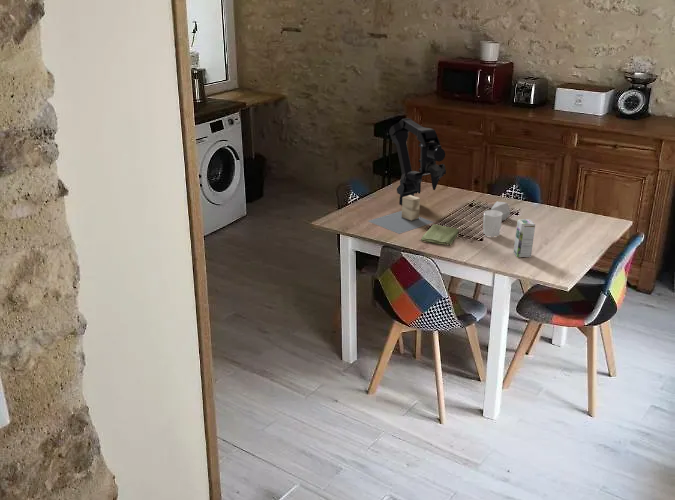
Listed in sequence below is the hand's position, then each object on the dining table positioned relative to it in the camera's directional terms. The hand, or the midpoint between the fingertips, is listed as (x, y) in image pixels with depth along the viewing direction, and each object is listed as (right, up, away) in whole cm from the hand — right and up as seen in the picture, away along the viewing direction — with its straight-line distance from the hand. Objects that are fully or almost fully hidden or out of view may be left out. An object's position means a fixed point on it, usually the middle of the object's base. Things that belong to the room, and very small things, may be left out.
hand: (426, 191), depth 319 cm
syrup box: (+34, -29, -36) cm, 57 cm away
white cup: (+26, -20, -16) cm, 36 cm away
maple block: (-8, -12, -1) cm, 15 cm away
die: (+34, -12, +3) cm, 36 cm away
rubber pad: (-12, -15, -5) cm, 20 cm away
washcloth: (+4, -22, -18) cm, 29 cm away
